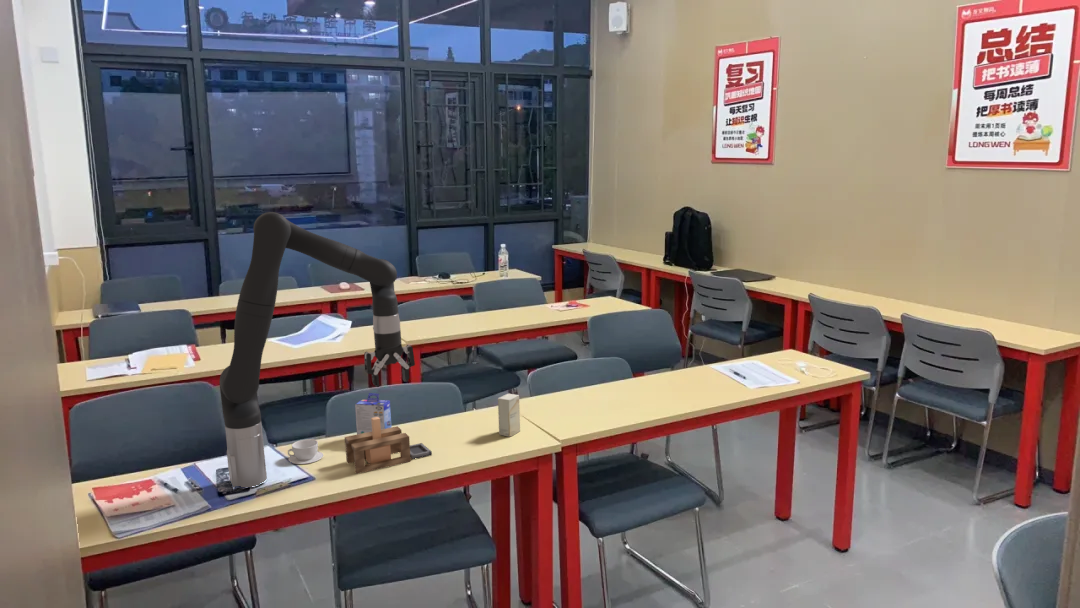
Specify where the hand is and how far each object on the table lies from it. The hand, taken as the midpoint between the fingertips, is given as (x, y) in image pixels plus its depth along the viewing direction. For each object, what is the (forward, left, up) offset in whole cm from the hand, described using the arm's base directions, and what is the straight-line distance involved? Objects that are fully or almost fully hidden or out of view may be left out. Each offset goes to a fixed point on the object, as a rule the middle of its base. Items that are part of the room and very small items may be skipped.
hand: (391, 383), depth 222 cm
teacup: (-23, +14, -23) cm, 36 cm away
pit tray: (+7, 0, -23) cm, 24 cm away
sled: (-5, 0, -23) cm, 23 cm away
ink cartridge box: (0, +18, -23) cm, 29 cm away
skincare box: (+38, -1, -23) cm, 44 cm away
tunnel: (-5, 0, -23) cm, 23 cm away
